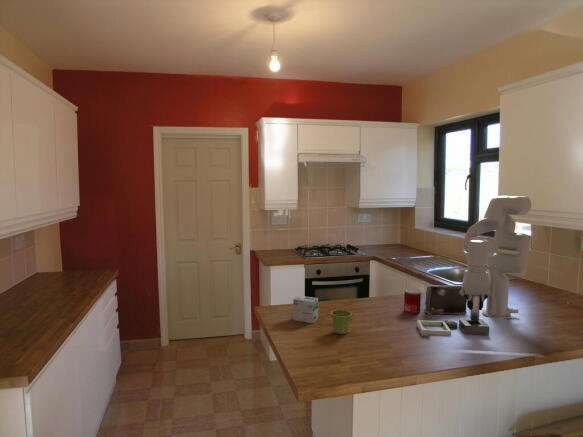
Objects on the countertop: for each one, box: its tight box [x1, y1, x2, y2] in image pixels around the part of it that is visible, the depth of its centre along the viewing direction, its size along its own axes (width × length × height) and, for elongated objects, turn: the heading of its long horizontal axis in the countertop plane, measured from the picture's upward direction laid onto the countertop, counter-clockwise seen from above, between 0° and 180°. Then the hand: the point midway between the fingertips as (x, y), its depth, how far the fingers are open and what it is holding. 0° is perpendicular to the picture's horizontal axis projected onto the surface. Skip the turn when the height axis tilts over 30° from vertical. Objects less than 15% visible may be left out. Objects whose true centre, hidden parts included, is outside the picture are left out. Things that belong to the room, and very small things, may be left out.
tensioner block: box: [458, 317, 490, 337], centre depth 176 cm, size 10×9×5 cm
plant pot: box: [330, 309, 353, 335], centre depth 177 cm, size 9×9×9 cm
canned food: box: [403, 288, 422, 315], centre depth 204 cm, size 8×8×11 cm
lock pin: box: [469, 295, 481, 321], centre depth 176 cm, size 4×4×11 cm
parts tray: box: [416, 319, 452, 337], centre depth 178 cm, size 12×12×3 cm
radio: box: [423, 284, 467, 316], centre depth 203 cm, size 23×9×15 cm, turn 97°
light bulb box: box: [292, 295, 319, 324], centre depth 192 cm, size 11×7×11 cm, turn 65°
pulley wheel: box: [440, 319, 459, 330], centre depth 182 cm, size 7×7×3 cm
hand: (474, 308), depth 176 cm, fingers closed on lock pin, 3 cm apart
